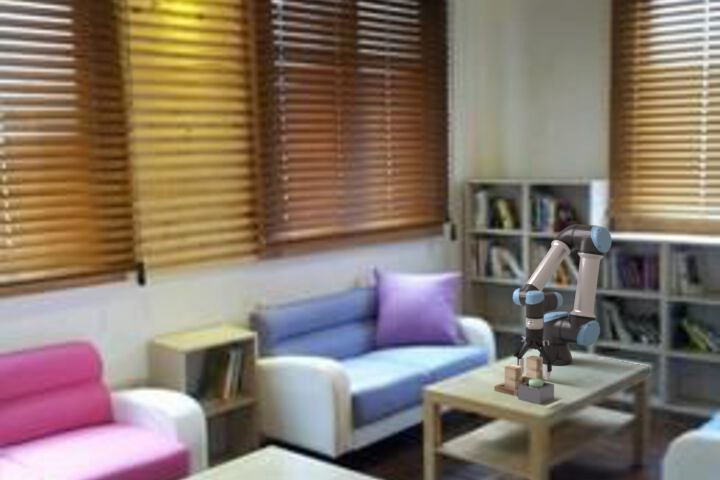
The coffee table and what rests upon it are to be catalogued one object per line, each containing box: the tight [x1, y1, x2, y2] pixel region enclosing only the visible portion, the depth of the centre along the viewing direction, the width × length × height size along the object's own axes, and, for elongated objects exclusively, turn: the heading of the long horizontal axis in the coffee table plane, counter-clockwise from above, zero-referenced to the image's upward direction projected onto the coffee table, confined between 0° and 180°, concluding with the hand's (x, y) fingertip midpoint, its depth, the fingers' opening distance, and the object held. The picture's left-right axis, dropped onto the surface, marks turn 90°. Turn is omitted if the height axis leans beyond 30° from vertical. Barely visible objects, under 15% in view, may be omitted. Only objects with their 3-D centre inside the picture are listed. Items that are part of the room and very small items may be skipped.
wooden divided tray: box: [493, 375, 546, 397], centre depth 341 cm, size 20×11×3 cm, turn 135°
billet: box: [525, 355, 544, 380], centre depth 356 cm, size 5×5×10 cm
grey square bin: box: [517, 381, 555, 406], centre depth 326 cm, size 10×10×7 cm
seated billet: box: [504, 364, 523, 390], centre depth 338 cm, size 5×5×10 cm
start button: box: [529, 379, 543, 388], centre depth 326 cm, size 6×6×3 cm
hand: (534, 376), depth 356 cm, fingers open, 12 cm apart
